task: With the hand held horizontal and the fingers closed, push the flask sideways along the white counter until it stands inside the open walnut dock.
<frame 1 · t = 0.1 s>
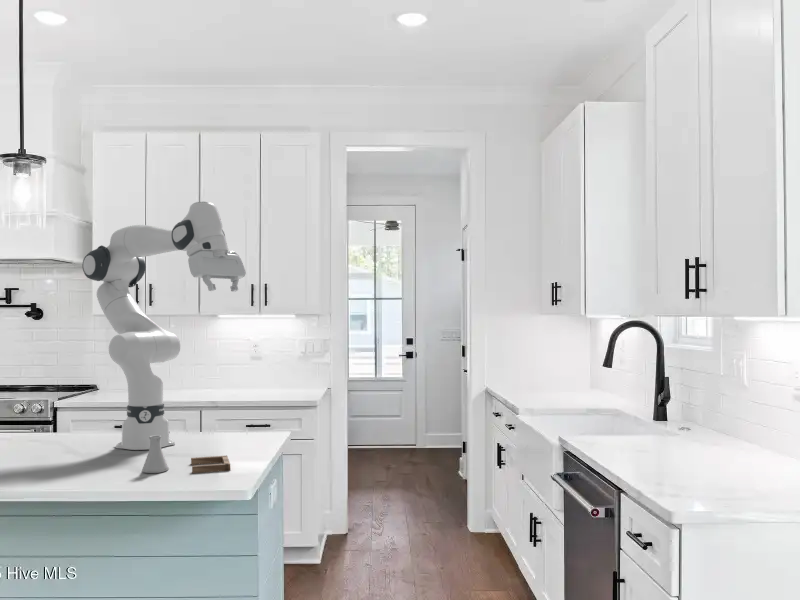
hand: (223, 290, 220), 52 cm above the countertop, tool tilted 20°, fingers open, 8 cm apart
dock: (209, 467, 207), on the countertop
flask: (155, 471, 202), on the countertop
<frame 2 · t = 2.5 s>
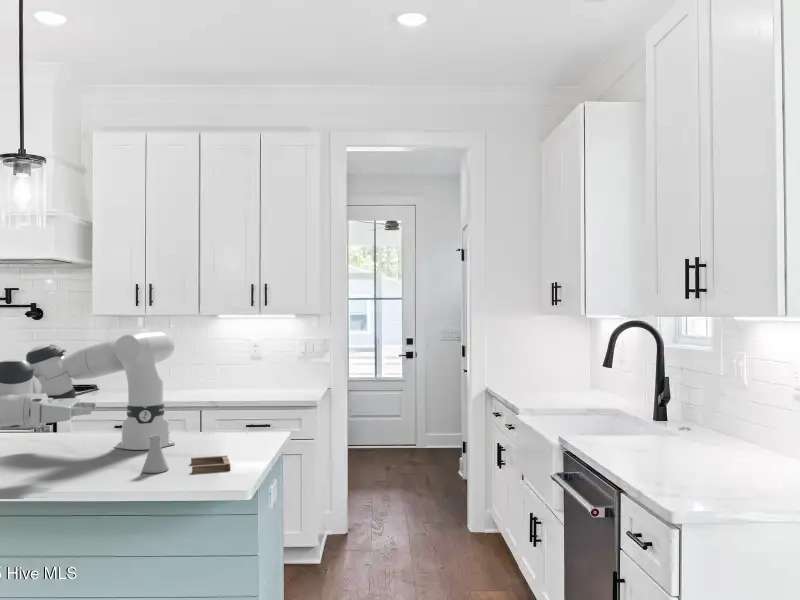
hand: (93, 408, 198), 19 cm above the countertop, tool horizontal, fingers open, 8 cm apart
nothing on the countertop moved.
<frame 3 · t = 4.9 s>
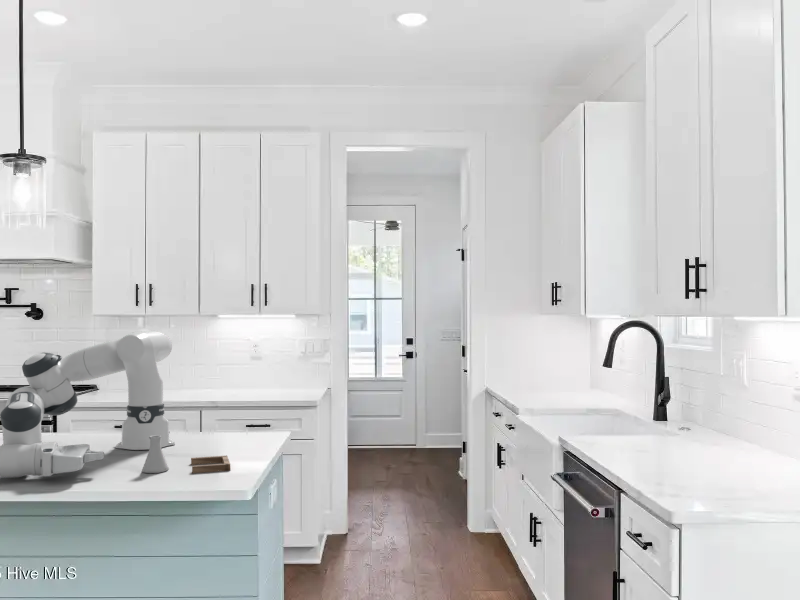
hand: (103, 455, 198), 5 cm above the countertop, tool horizontal, fingers closed
nothing on the countertop moved.
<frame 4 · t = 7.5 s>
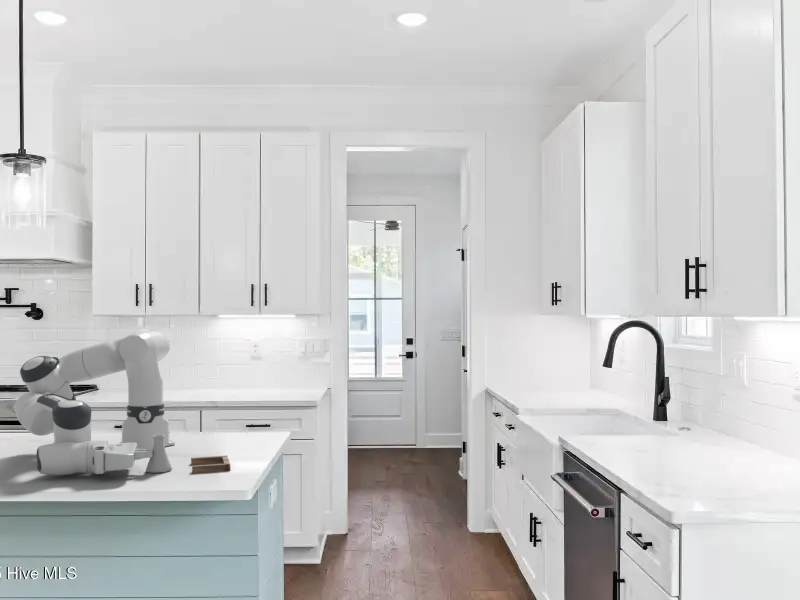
hand: (152, 453, 201), 5 cm above the countertop, tool horizontal, fingers closed
flask: (158, 471, 202), on the countertop, touching gripper
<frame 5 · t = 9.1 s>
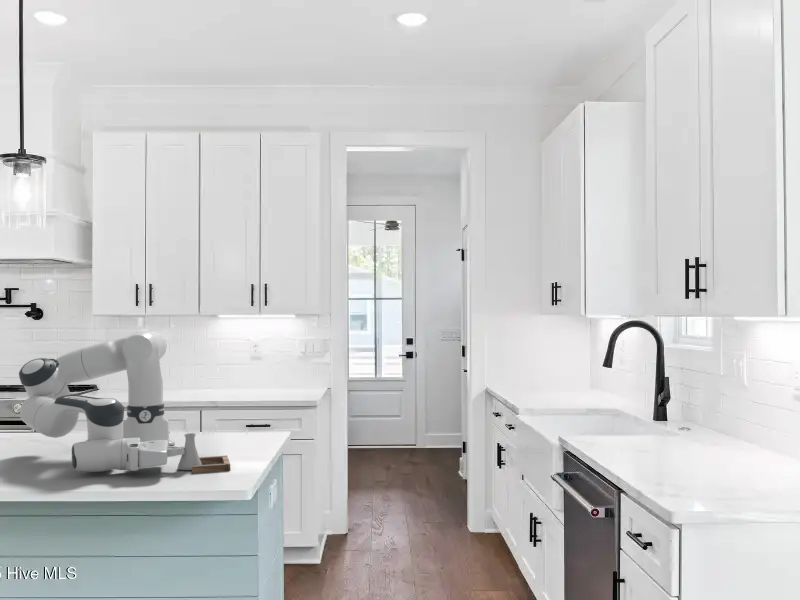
hand: (184, 450, 204), 5 cm above the countertop, tool horizontal, fingers closed, pressing on flask
flask: (189, 469, 205), on the countertop, touching gripper
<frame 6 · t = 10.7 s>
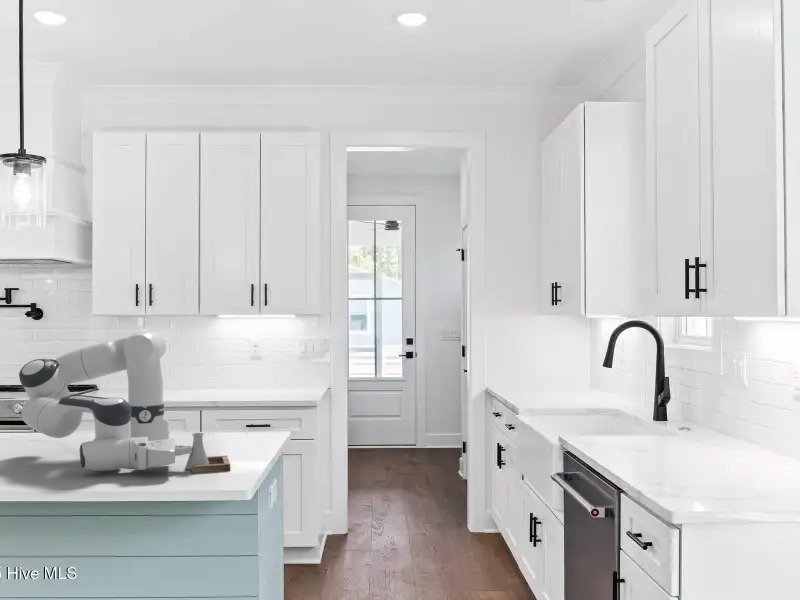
hand: (191, 449, 205), 5 cm above the countertop, tool horizontal, fingers closed
flask: (197, 468, 206), on the countertop
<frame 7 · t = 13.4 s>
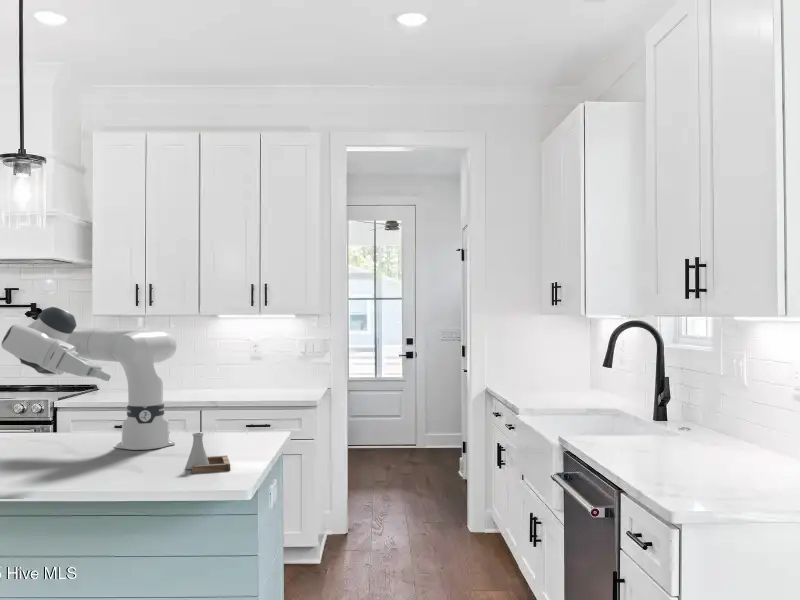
hand: (108, 378, 200), 27 cm above the countertop, tool tilted 65°, fingers closed
nothing on the countertop moved.
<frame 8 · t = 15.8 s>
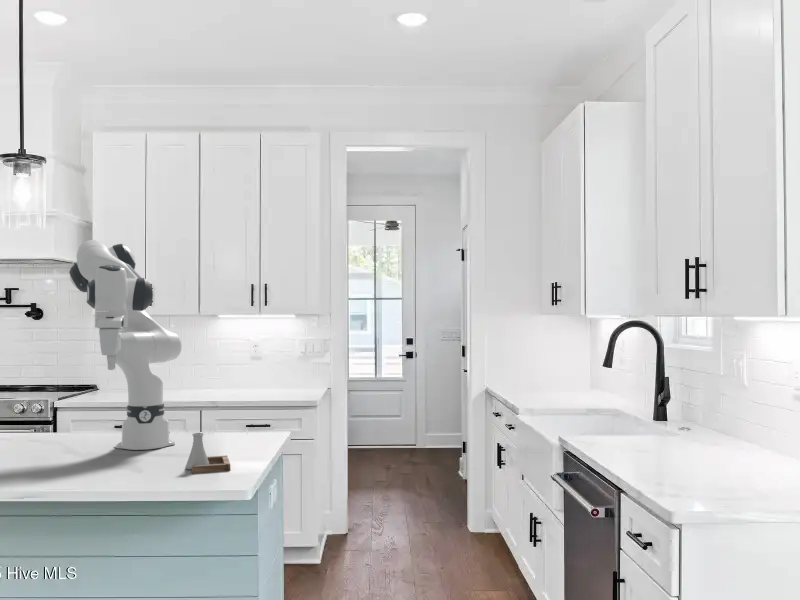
hand: (111, 369, 203), 29 cm above the countertop, tool pointing down, fingers closed
nothing on the countertop moved.
at the end: flask inside the target area on the dock (2.8 cm from its centre), point 0.0 cm above the dock's base; flask tilted 0°; flask moved 11.8 cm from its start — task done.
